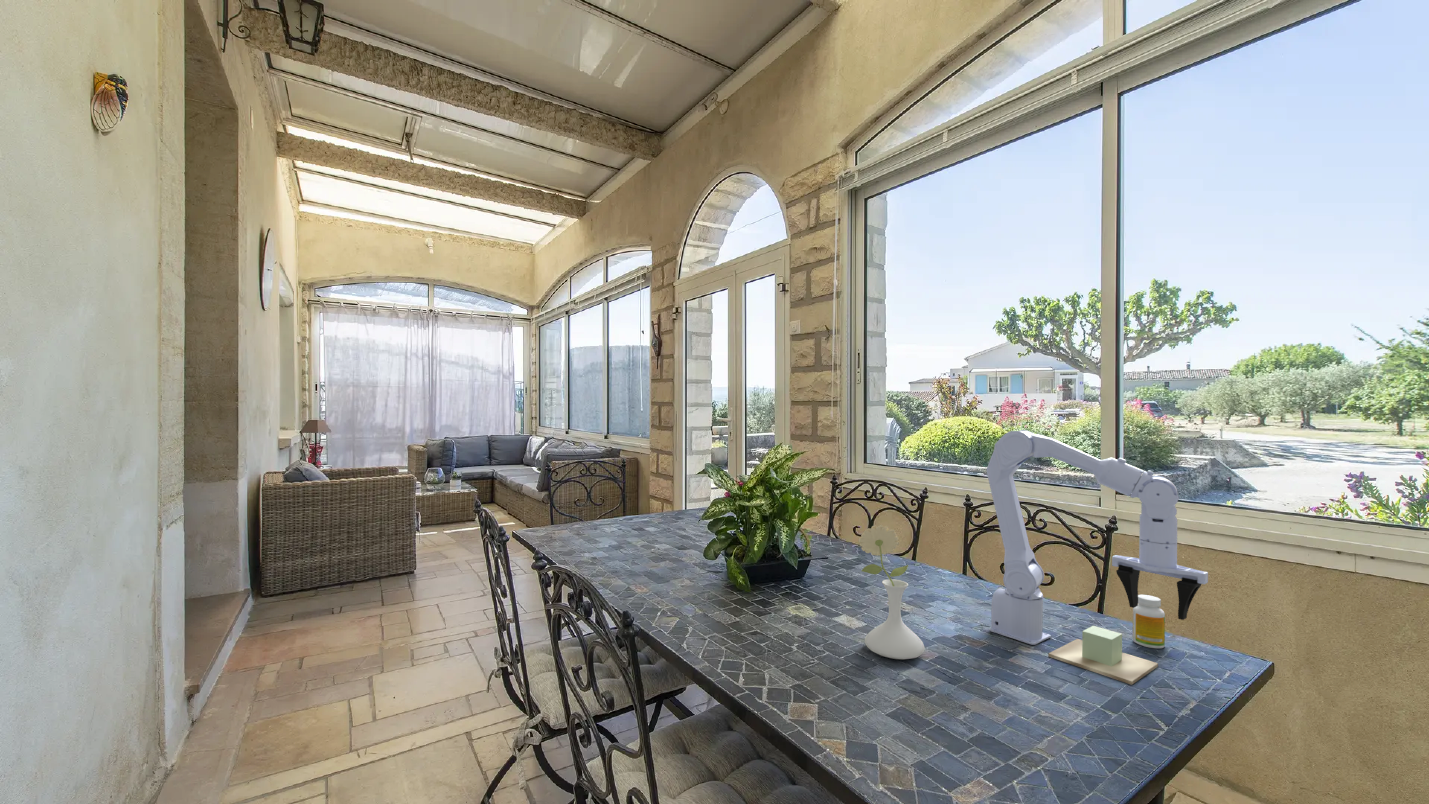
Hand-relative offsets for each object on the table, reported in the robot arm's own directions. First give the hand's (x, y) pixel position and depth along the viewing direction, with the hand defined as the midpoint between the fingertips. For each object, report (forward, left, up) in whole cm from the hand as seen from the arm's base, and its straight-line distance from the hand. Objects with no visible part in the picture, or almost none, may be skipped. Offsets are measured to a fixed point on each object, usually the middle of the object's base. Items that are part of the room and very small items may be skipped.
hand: (1157, 612), depth 109 cm
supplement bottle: (-5, +12, -11) cm, 17 cm away
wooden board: (-7, -6, -10) cm, 14 cm away
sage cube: (-7, -6, -10) cm, 14 cm away
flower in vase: (-33, -37, -11) cm, 51 cm away
